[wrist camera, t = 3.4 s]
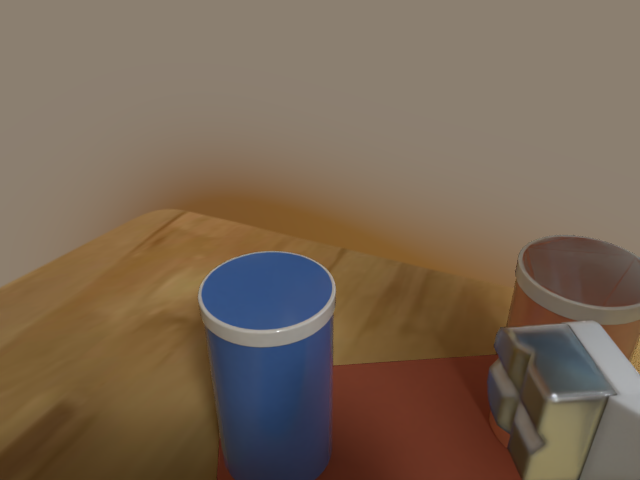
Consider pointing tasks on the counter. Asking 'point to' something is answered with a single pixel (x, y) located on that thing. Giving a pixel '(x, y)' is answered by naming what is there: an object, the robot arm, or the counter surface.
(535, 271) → the terracotta canister
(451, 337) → the counter surface
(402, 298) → the counter surface
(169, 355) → the counter surface
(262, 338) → the blue canister
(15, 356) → the counter surface
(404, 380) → the terracotta mat
